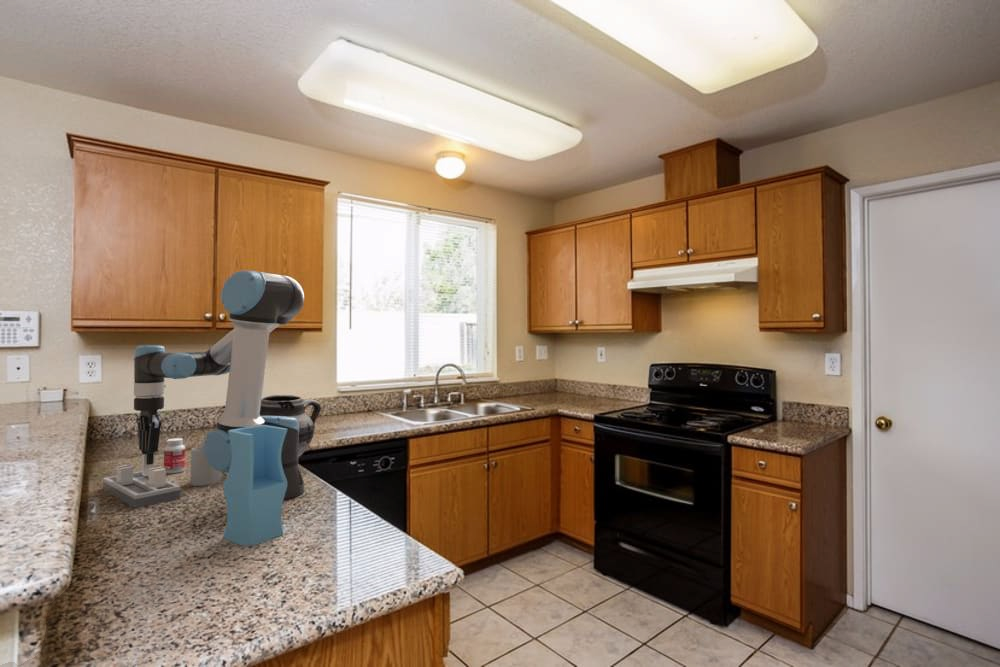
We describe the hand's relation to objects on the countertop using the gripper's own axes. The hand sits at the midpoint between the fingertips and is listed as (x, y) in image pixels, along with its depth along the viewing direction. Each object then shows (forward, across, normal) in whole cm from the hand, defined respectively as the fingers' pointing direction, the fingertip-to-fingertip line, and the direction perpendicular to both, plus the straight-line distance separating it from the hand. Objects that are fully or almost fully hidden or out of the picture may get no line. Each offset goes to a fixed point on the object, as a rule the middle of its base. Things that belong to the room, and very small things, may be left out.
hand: (148, 474), depth 153 cm
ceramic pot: (+5, -3, -40) cm, 41 cm away
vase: (+5, -59, -2) cm, 59 cm away
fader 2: (+2, -7, 0) cm, 7 cm away
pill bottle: (+5, +17, -14) cm, 22 cm away
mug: (+5, -3, -16) cm, 17 cm away
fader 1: (+2, +3, +5) cm, 6 cm away
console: (+5, -2, +2) cm, 6 cm away
